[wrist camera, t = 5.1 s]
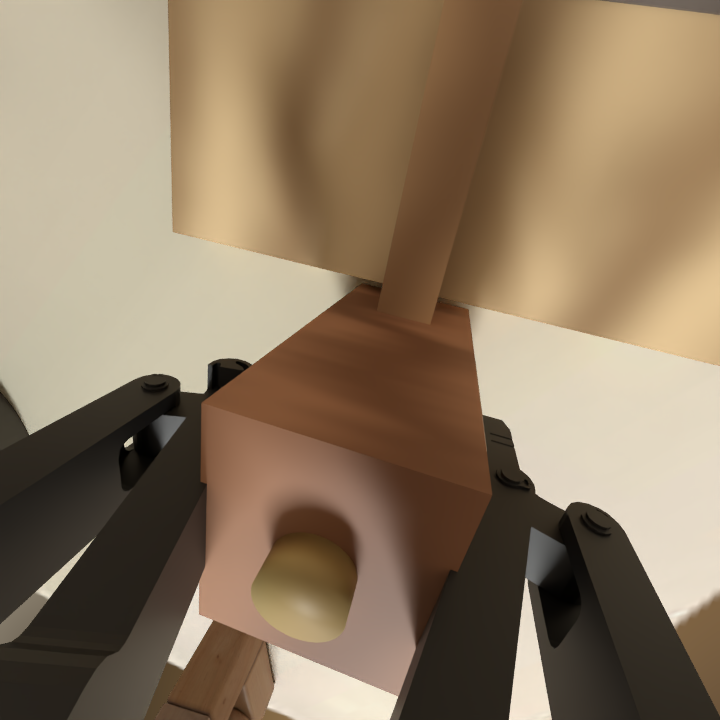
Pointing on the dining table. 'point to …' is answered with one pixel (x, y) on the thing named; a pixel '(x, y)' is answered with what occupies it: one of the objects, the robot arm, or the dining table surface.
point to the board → (495, 160)
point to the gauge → (365, 419)
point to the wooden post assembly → (222, 679)
